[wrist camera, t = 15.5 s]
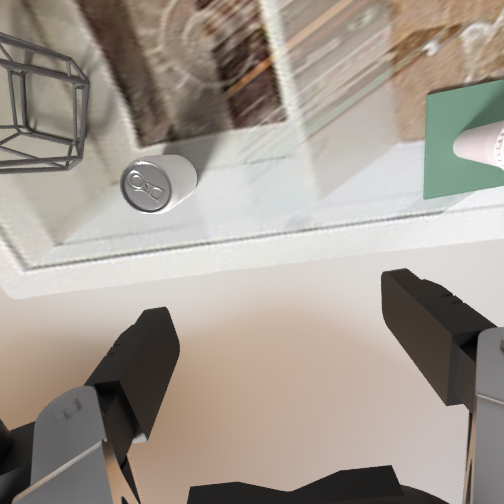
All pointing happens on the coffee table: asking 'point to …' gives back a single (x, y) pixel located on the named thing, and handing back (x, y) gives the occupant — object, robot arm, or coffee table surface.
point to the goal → (448, 128)
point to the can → (157, 182)
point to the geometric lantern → (10, 66)
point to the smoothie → (482, 144)
